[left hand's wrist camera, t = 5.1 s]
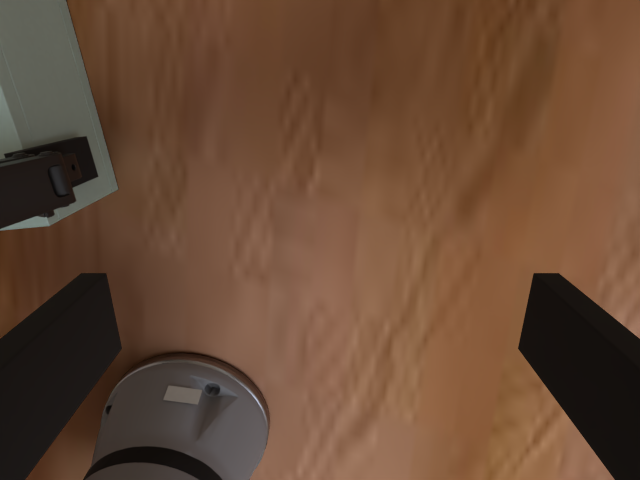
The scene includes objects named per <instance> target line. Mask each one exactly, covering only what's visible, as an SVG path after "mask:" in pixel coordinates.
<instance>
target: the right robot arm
mask: <svg viewBox="0 0 640 480" xmlns="http://www.w3.org/2000/svg"><path fill="white" fill-rule="evenodd" d="M4 156H5V158H3V159H0V229H2V228H5V227H7V226H10V225H13V224H16V223H19V222H21V221H24V220H27V219H30V218H33V217H35V216H38V217H44V218H45V217H46V218H49V217H52V216H54V215H55V213H54V210H55V209H58V208H63V207H67V206H69V204H72V203H74V202H76V198H75V195H74V191H73V187H76V186H78V185H80V184H83V183H85V182H87V181H90V180H92V179H94V178H97V177H99V176H98V173H97V170H96V166H95V163H94V159H93V156H92V153H91V149H90V146H89V142H88V139H87V136H84V137H75V138H70V139H66V140H62V141H57V142H53V143H49V144H44V145H40V146H36V147H31V148H27V149H23V150H18V151H14V152H10V153H5V154H4ZM269 427H270V418H269V412H268V408H267V405H266V402H265V400H264V398H263V396H262V395H261V393H260V391H259V390H258V389H257V387H256V386H255V385H254V384H253V383H252V382H251V381H250V380H249V379H248V378H247V377H246V376H245V375H244V374H242V373H241V372H239V371H238V370H236V369H235V368H233V367H232V366H230V365H228V364H226V363H224V362H221V361H219V360H216V359H213V358H210V357H206V356H202V355H196V354H186V353H175V354H166V355H160V356H157V357H153V358H150V359H148V360H145V361H143V362H141V363H139V364H137V365H136V366H134V367H133V368H131V369H130V370H129V371H128V372H127V373H126V374H125V375H124V376H123V377H122V378H121V380H120V381H119V382H118V384H117V385H116V387H115V388H114V390H113V391H112V393H111V395H110V396H109V399H108V401H107V403H106V405H105V408H104V410H103V414H102V419H101V428H100V430H99V434H98V437H97V441H96V446H95V450H94V455H93V460H92V464H91V467H90V469H89V471H88V472H87V474H86V476H85V477H84V479H83V480H249V479H250V477H251V475H252V473H253V472H254V470H255V469H256V467H257V466H258V464H259V463H260V461H261V459H262V456H263V453H264V450H265V448H266V444H267V440H268V433H269Z"/></svg>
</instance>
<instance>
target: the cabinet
mask: <svg viewBox="0 0 640 480" xmlns="http://www.w3.org/2000/svg"><path fill="white" fill-rule="evenodd" d="M84 136H87V139H88V142H89V146H90V149H91V153H92V156H93V159H94V163H95V166H96V170H97V173H98V176H99V177H97V178H94V179H92V180H90V181H87V182H85V183H83V184H80V185H78V186H76V187H73V191H74V195H75V198H76V202H74V203H72V204H69V206H67V207H63V208H58V209H55V210H54V213H55V215H54V216H52V217H49V218H46V217H45V218H44V217H38V216H35V217H33V218H30V219H27V220H24V221H21V222H19V223H16V224H13V225H10V226H7V227H5V228H2V229H0V230H11V229H22V228H33V227H44V226H50V225H52V224H54V223H56V222H58V221H59V220H61V219H63V218H65V217H67V216H69V215H71V214H73V213H75V212H76V211H78V210H80V209H82V208H84V207H86V206H88V205H90V204H92V203H94V202H95V201H97V200H99V199H101V198H103V197H105V196H107V195H109V194H111V193H113V192H115V191H117V190H118V186H117V182H116V179H115V175H114V171H113V168H112V164H111V161H110V157H109V153H108V150H107V146H106V142H105V139H104V135H103V132H102V128H101V124H100V121H99V117H98V114H97V110H96V106H95V103H94V99H93V96H92V92H91V88H90V85H89V81H88V78H87V74H86V70H85V67H84V63H83V60H82V56H81V52H80V49H79V45H78V42H77V38H76V34H75V31H74V27H73V24H72V20H71V16H70V13H69V9H68V6H67V2H66V0H0V159H3V158H5V156H4V154H5V153H10V152H14V151H18V150H23V149H27V148H31V147H36V146H40V145H44V144H49V143H53V142H57V141H62V140H66V139H70V138H75V137H84Z"/></svg>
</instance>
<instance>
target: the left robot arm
mask: <svg viewBox="0 0 640 480" xmlns="http://www.w3.org/2000/svg"><path fill="white" fill-rule="evenodd" d="M121 349H122V347H121V342H120V337H119V332H118V328H117V323H116V318H115V313H114V308H113V304H112V299H111V294H110V289H109V284H108V279H107V275H106V273H81V274H80V275H79V276H77V277H76V278H75V279H74V280H72V281H71V282H70V283H69V284H68V285H66V286H65V287H64V288H63V289H61V290H60V291H59V292H58V293H56V294H55V295H54V296H53V297H51V298H50V299H49V300H48V301H47V302H45V303H44V304H43V305H42V306H40V307H39V308H38V309H37V310H35V311H34V312H33V313H32V314H30V315H29V316H28V317H27V318H26V319H24V320H23V321H22V322H21V323H19V324H18V325H17V326H16V327H14V328H13V329H12V330H11V331H9V332H8V333H7V334H6V335H5V336H3V337H2V338H1V339H0V480H25V479H26V478H27V476H28V475H29V474H30V472H31V471H32V470H33V468H34V467H35V466H36V464H37V463H38V461H39V460H40V459H41V457H42V456H43V455H44V453H45V452H46V451H47V449H48V448H49V447H50V445H51V444H52V442H53V441H54V440H55V438H56V437H57V436H58V434H59V433H60V432H61V430H62V429H63V428H64V426H65V425H66V424H67V422H68V421H69V419H70V418H71V417H72V415H73V414H74V413H75V411H76V410H77V409H78V407H79V406H80V405H81V403H82V402H83V400H84V399H85V398H86V396H87V395H88V394H89V392H90V391H91V390H92V388H93V387H94V386H95V384H96V383H97V381H98V380H99V379H100V377H101V376H102V375H103V373H104V372H105V371H106V369H107V368H108V367H109V365H110V364H111V363H112V361H113V360H114V358H115V357H116V356H117V354H118V353H119V352H120V350H121ZM518 349H519V350H520V352H521V353H522V354H523V356H524V357H525V358H526V360H527V361H528V363H529V364H530V365H531V367H532V368H533V369H534V371H535V372H536V373H537V375H538V376H539V377H540V379H541V380H542V382H543V383H544V384H545V386H546V387H547V388H548V390H549V391H550V392H551V394H552V395H553V396H554V398H555V399H556V400H557V402H558V403H559V405H560V406H561V407H562V409H563V410H564V411H565V413H566V414H567V415H568V417H569V418H570V419H571V421H572V422H573V424H574V425H575V426H576V428H577V429H578V430H579V432H580V433H581V434H582V436H583V437H584V438H585V440H586V441H587V442H588V444H589V445H590V447H591V448H592V449H593V451H594V452H595V453H596V455H597V456H598V457H599V459H600V460H601V461H602V463H603V464H604V466H605V467H606V468H607V470H608V471H609V472H610V474H611V475H612V476H613V478H614V479H615V480H640V339H639V338H638V337H637V336H635V335H634V334H633V333H632V332H631V331H629V330H628V329H627V328H626V327H624V326H623V325H622V324H621V323H619V322H618V321H617V320H616V319H614V318H613V317H612V316H611V315H610V314H608V313H607V312H606V311H605V310H603V309H602V308H601V307H600V306H598V305H597V304H596V303H595V302H593V301H592V300H591V299H590V298H589V297H587V296H586V295H585V294H584V293H582V292H581V291H580V290H579V289H577V288H576V287H575V286H574V285H572V284H571V283H570V282H569V281H568V280H566V279H565V278H564V277H563V276H561V275H560V274H559V273H534V275H533V279H532V284H531V289H530V294H529V299H528V304H527V308H526V313H525V318H524V323H523V328H522V332H521V337H520V342H519V347H518Z"/></svg>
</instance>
